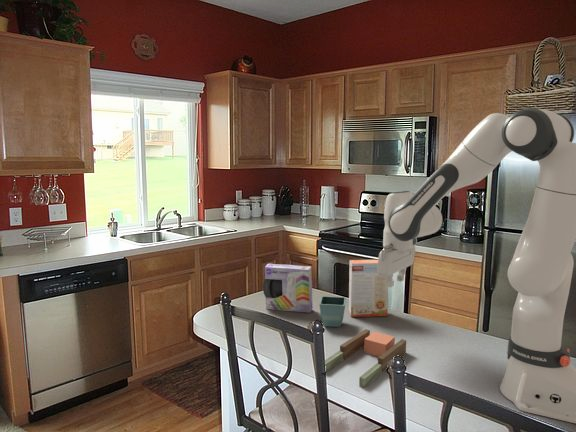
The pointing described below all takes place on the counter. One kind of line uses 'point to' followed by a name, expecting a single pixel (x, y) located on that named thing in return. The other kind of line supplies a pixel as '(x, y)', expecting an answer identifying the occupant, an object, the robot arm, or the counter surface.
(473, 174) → the robot arm
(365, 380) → the parallel rails
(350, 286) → the cracker box
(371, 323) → the counter surface
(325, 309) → the flower pot
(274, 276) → the cake pan box
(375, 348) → the orange block
